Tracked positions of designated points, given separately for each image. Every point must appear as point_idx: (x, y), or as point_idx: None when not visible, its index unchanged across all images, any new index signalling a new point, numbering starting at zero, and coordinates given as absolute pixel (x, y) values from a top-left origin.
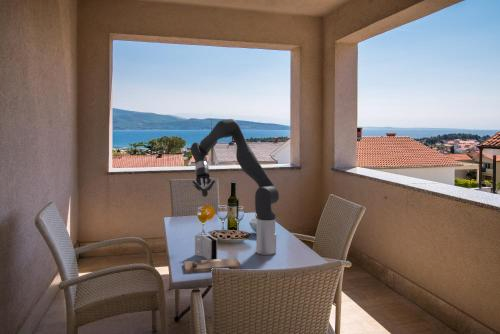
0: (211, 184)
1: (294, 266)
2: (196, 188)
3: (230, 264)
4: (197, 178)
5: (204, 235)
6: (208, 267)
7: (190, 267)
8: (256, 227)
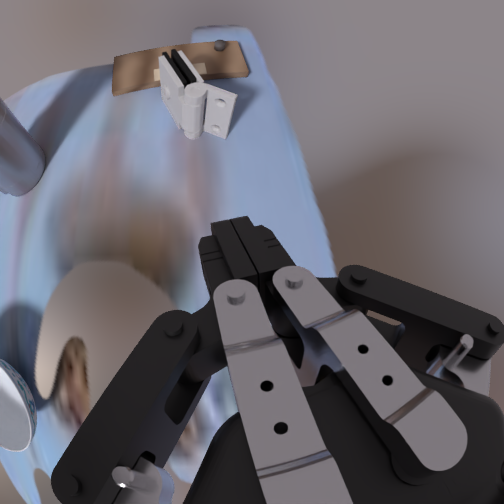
0: (126, 399)
1: (15, 93)
2: (388, 332)
3: (136, 58)
4: (496, 430)
5: (201, 88)
6: (188, 45)
7: (228, 46)
8: (8, 365)
